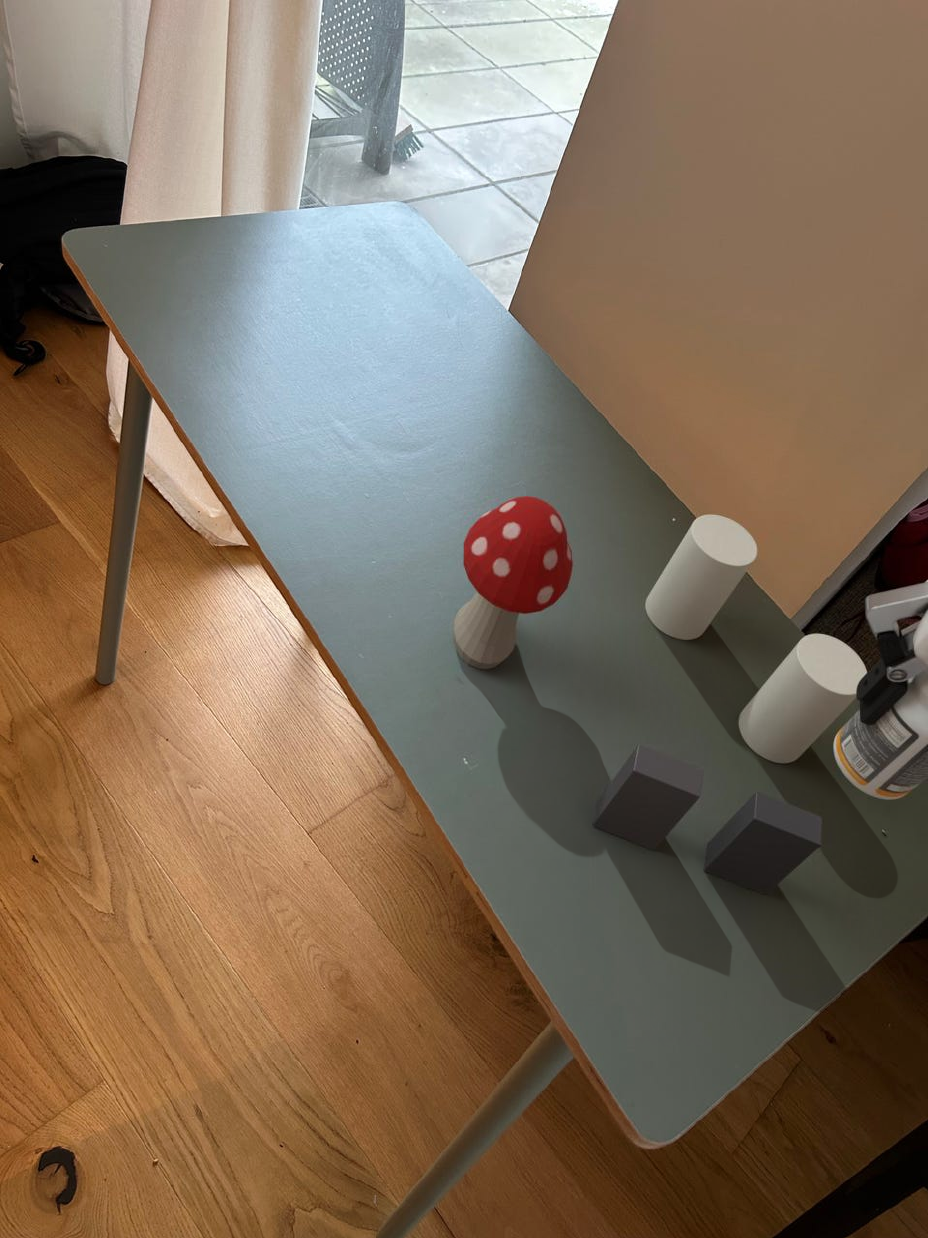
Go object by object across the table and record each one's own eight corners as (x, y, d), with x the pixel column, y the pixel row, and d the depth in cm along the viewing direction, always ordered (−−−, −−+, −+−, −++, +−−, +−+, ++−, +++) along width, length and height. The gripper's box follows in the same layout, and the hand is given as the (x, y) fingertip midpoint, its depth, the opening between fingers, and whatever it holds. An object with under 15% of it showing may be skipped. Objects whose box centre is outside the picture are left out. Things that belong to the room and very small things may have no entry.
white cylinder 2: (804, 720, 88) (867, 650, 81) (801, 774, 84) (868, 706, 77) (740, 694, 88) (798, 622, 81) (735, 747, 84) (795, 676, 76)
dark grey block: (767, 868, 77) (822, 817, 71) (765, 895, 75) (821, 845, 69) (706, 843, 77) (756, 790, 71) (703, 870, 75) (754, 818, 69)
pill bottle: (908, 749, 68) (1005, 661, 61) (909, 817, 64) (1012, 732, 57) (830, 715, 68) (918, 624, 61) (826, 782, 64) (919, 692, 57)
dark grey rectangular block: (658, 824, 77) (704, 769, 71) (654, 851, 75) (700, 797, 69) (597, 800, 77) (638, 743, 71) (592, 826, 75) (633, 770, 69)
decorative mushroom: (524, 701, 81) (590, 578, 70) (421, 672, 80) (472, 542, 69) (535, 611, 88) (597, 486, 77) (440, 584, 87) (489, 453, 76)
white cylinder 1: (708, 604, 94) (759, 530, 87) (702, 649, 90) (755, 575, 83) (649, 580, 94) (695, 504, 87) (640, 624, 90) (688, 548, 83)
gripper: (975, 506, 46) (782, 722, 60) (1313, 639, 47) (1047, 824, 60) (960, 416, 52) (785, 633, 65) (1265, 537, 52) (1029, 728, 65)
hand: (913, 723), depth 62 cm, fingers closed on pill bottle, 5 cm apart
